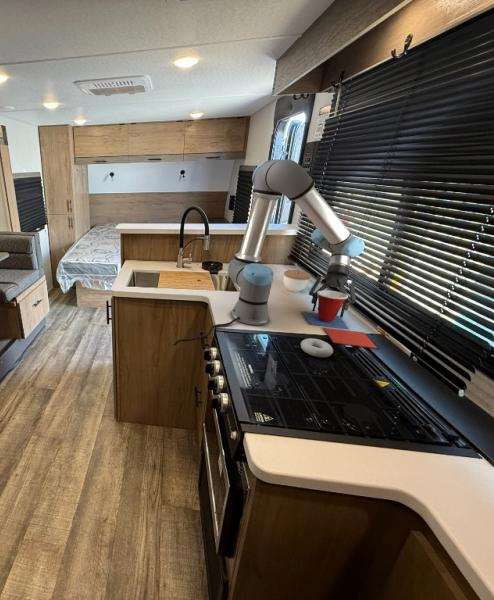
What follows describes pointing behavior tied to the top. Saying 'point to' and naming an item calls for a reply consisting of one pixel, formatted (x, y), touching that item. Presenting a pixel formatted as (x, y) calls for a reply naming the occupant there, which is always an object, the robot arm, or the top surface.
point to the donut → (316, 348)
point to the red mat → (349, 338)
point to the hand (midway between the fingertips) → (327, 313)
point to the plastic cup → (329, 304)
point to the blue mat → (315, 320)
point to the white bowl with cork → (296, 280)
